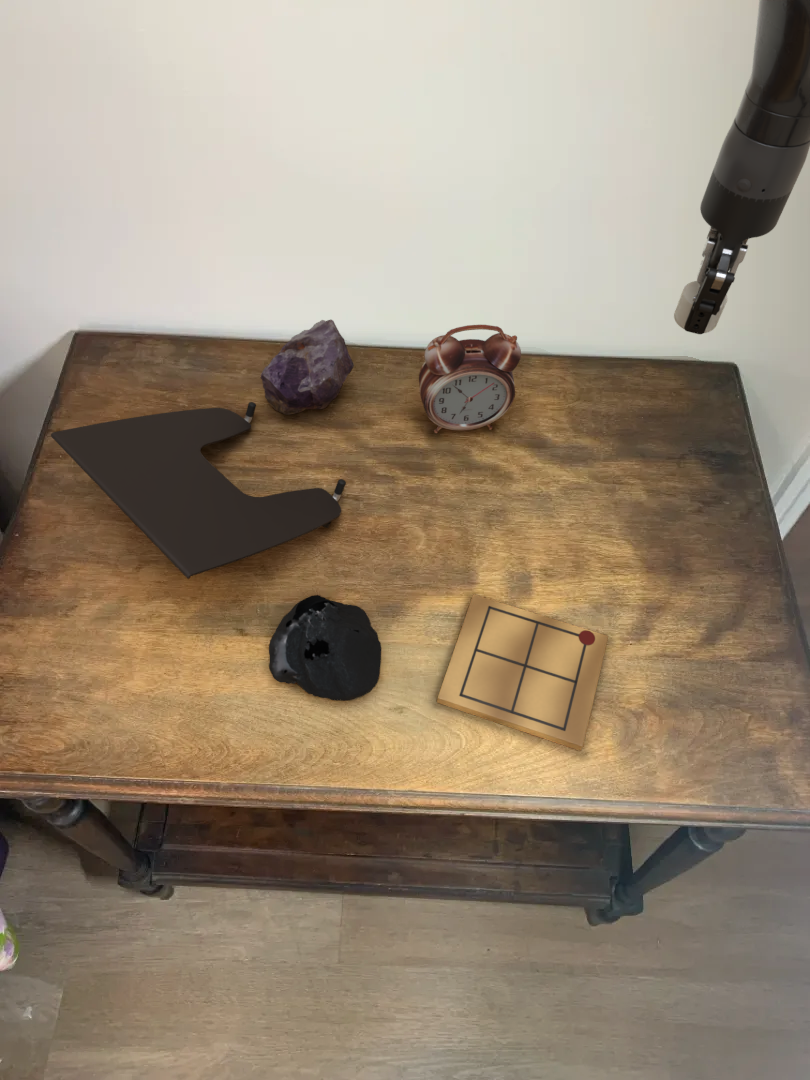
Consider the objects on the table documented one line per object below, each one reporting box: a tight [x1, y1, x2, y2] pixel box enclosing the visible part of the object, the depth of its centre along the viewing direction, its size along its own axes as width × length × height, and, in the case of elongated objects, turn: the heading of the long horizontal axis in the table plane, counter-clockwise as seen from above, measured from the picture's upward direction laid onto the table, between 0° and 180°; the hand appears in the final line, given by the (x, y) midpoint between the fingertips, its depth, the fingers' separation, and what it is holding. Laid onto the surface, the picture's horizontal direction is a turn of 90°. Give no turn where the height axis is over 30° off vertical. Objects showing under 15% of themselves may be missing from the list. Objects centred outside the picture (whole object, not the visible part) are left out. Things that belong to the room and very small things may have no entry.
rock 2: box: [268, 594, 382, 702], centre depth 78 cm, size 9×10×10 cm
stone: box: [673, 280, 728, 334], centre depth 90 cm, size 5×5×3 cm
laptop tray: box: [50, 401, 347, 580], centre depth 86 cm, size 23×23×9 cm
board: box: [436, 593, 609, 751], centre depth 79 cm, size 14×12×1 cm
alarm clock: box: [418, 324, 522, 434], centre depth 91 cm, size 11×5×15 cm, turn 97°
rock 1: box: [260, 319, 355, 416], centre depth 95 cm, size 12×9×10 cm
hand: (697, 314), depth 91 cm, fingers closed on stone, 4 cm apart
